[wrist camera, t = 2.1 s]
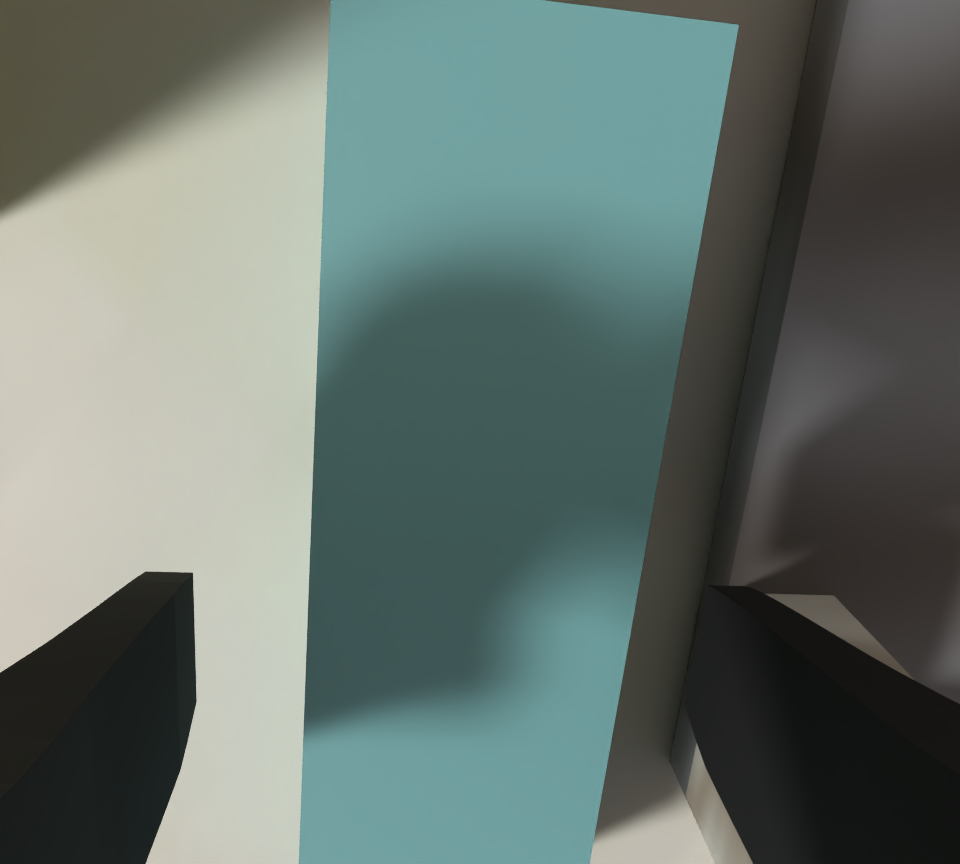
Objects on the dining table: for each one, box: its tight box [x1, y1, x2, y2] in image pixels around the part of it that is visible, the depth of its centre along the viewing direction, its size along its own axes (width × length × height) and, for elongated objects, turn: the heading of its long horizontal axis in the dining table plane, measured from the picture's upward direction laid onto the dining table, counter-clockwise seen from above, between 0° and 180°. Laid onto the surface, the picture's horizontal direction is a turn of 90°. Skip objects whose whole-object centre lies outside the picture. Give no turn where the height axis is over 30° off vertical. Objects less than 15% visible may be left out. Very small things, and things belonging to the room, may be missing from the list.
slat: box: [299, 0, 739, 864], centre depth 13 cm, size 16×4×5 cm, turn 174°
